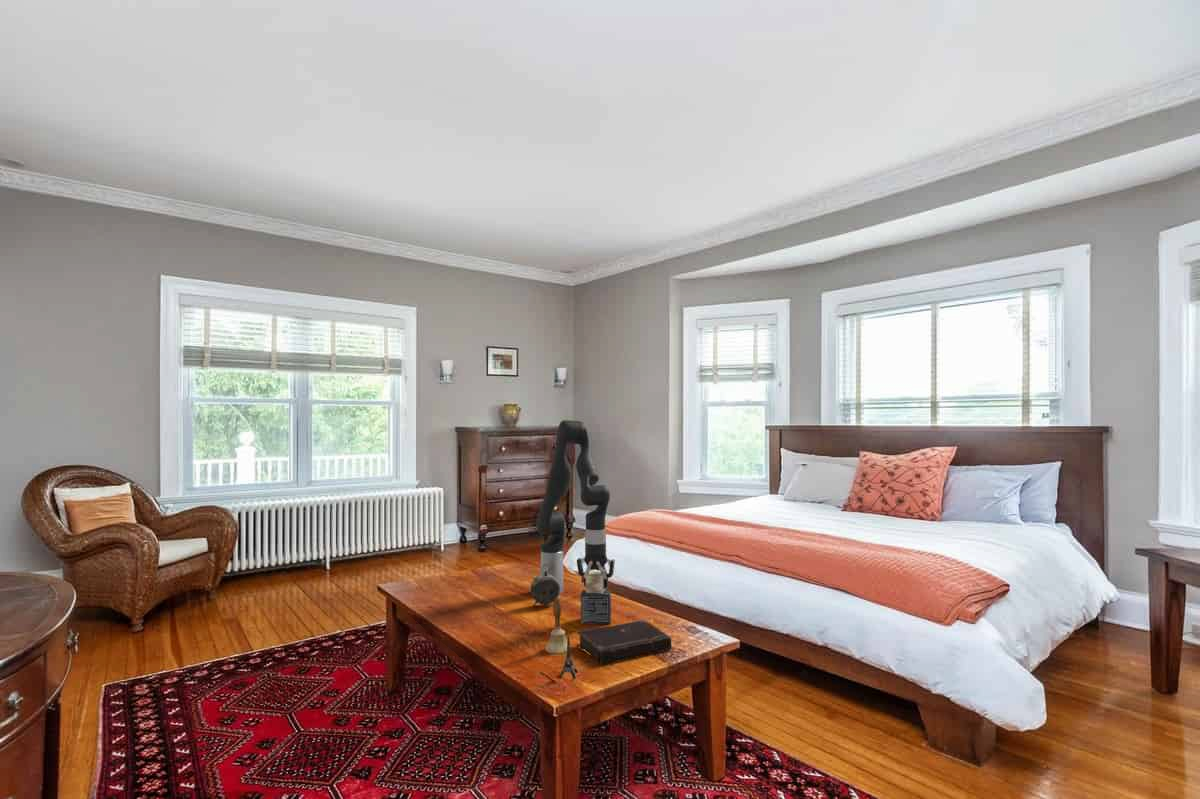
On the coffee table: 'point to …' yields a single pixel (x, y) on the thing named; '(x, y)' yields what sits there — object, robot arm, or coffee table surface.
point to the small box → (596, 607)
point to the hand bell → (557, 633)
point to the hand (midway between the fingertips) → (596, 588)
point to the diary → (623, 641)
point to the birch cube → (594, 582)
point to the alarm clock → (545, 588)
